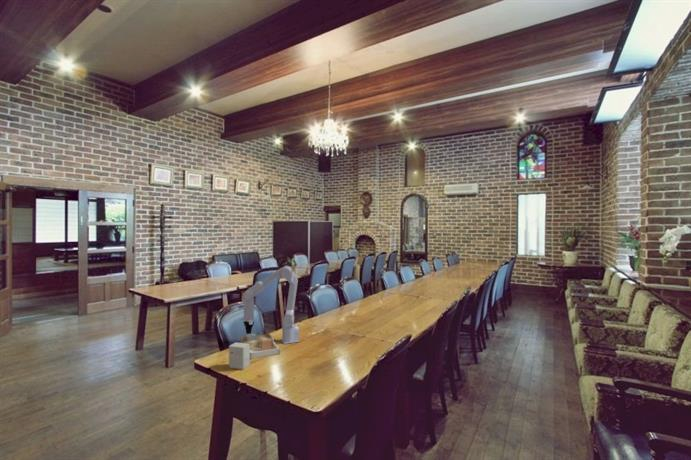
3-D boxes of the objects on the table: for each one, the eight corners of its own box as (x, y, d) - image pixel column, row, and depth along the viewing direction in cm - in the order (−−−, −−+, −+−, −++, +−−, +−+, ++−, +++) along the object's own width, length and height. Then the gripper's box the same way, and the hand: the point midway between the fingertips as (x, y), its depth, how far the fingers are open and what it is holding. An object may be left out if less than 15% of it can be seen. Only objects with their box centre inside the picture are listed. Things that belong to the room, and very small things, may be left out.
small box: (249, 365, 161) (250, 343, 161) (243, 369, 156) (243, 347, 156) (235, 363, 164) (235, 341, 164) (228, 367, 158) (228, 345, 158)
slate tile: (254, 337, 190) (254, 332, 190) (256, 339, 186) (256, 335, 186) (245, 338, 188) (245, 334, 188) (247, 341, 183) (247, 336, 183)
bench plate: (268, 340, 197) (268, 333, 197) (274, 346, 187) (274, 339, 187) (240, 344, 190) (240, 337, 190) (244, 351, 179) (244, 343, 179)
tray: (273, 346, 186) (273, 341, 186) (279, 354, 176) (279, 348, 176) (245, 351, 179) (245, 345, 179) (249, 359, 168) (249, 353, 168)
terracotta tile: (270, 338, 183) (271, 340, 181) (270, 348, 183) (271, 349, 181) (261, 340, 181) (262, 341, 179) (261, 349, 181) (261, 350, 179)
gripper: (239, 308, 198) (239, 331, 198) (243, 314, 185) (243, 338, 185) (251, 307, 201) (251, 329, 201) (256, 312, 188) (256, 336, 188)
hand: (248, 333), depth 193 cm, fingers closed
